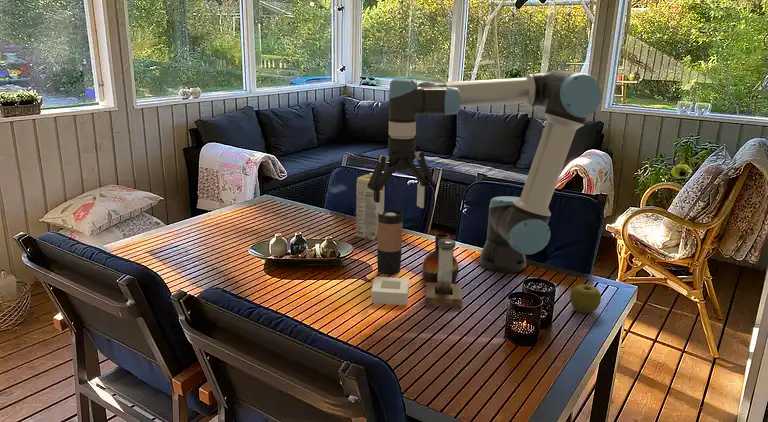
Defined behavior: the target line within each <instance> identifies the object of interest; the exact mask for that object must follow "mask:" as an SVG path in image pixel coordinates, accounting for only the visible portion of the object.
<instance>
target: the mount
mask: <svg viewBox="0 0 768 422" xmlns="http://www.w3.org/2000/svg"><path fill="white" fill-rule="evenodd" d="M425 282H426V281H425ZM436 293H437V283H432V282H426V283H425V301H424V302H425V303H424V305H425V306H427V307H439V308H441V307H442V308H443V307H444V308H458V309H462V308H463V293H462V284H461V283H453V284H451V295H445V294H436Z"/></svg>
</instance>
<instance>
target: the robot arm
mask: <svg viewBox="0 0 768 422" xmlns="http://www.w3.org/2000/svg"><path fill="white" fill-rule="evenodd" d="M602 95H603V94H602V88H601V86H600V84H599V82H598V80H597V79H596V78H595V77H594V76H592V75H590V74H587V73H584V72H582V71H581V72H580V71H569V70H562V69H561V70H560V69H559V70H551V71H546V72H539V73H528V74H526V75H525V76H523V77H518V78H517V77H516V78H513V77H511V78H499V79H498V78H497V79H495V78H493V79H478V80H477V79H475V80H459V81H443V82H430V81H424V82H420V83H418V81H417V80H416V79H413V78H395V79H392V80H391V81H390V83H389V91H388V143H387V145H388V146H387V147H388V148H387V149H388V150H387V151H388V154H387V155H382V154H378V155H377V163H376V165H375V167H374V169H373V172H372V173H373V174H372V176H371V178H370V181H369V183H368V185H367V188H369V189H371V190H373V191H374V202H376V212H377V213H379V214H383V191H381V189H382V188H383V186H384V187H385V185H386V184H387V182H388V180H389V179H390V178H391V176H392V175H393V174H394V173H395V172H396V171H402V170H408V169H409V172H411V173H412V175H413V176H414V178H416V180H417V181H418V182H419V183H417V186H416V187H417V190H416V207H419V208H421V209H424V208H425V196H427V191H428V190H427V189H428V187H429V186H430V183H431V184H432V183H433V182H434V179H433V176H432V174H431V172H430V170H429V168H428V164H427V162H426V159H425V152H422V151H420V150H417V151H416V152H415V150H416V138H415V136H416V135H417V129H416V128H417V115H418V116H421V115H430V116H432V115H433V116H434V115H436V116H438V115H439V116H440V115H442V116H450V115H457V114H458V113H459V111H460V109H461V108H462V107H481V106H483V107H484V106H498V105H499V106H501V105H502V106H503V105H515V104H517V105H518V104H519V105H520V104H524V105H525V106H526V107H542V108H545V109H544V112H543V115H544V117H545V119H546V123H545V126H544V128H543V131H542V134H541V137H540V139H539V143H538V146H537V149H536V152H535V155H534V157H533V159H532V163H531V166H530V169H529V171H528V175H527V177H526V180H525V182H524V186H523V187H522V188H523V189H522V191H521V195H520V197H519V196H507V195H506V196H505V195H504V196H495V197H492V198H491V199H490V201H489V202H490V203H489V206H488V217H487V218H488V220H487V230H486V231H487V233H486V241H485V244H484V246H483V248H482V250H481V252H480V255H479V264H480V266H482V267H483V268H484V269H487V270H489V271H493V272H496V271H497V273H504V274H505V273H506V274H508V273H509V274H511V273H510V272H514V273H518V271H519V272H521V270H522V271H523V269H524V268H525V269H526V266H527V257H526V255H534V254H536V253H538V252H540V251H542V250H543V249H545V247H546V246H548V244H549V241H550V240H551V239H550V238H551V230H550V227H549V225H548V223H549V221H550V218H551V215H552V212H551V211H550V209H549V207H550V206H549V205H550V203H551V200H552V197H553V195H554V192H555V189H556V187H557V184H558V181H559V178H560V175H561V173H562V170H563V169H564V165H565V161H566V160H567V156H568V153H569V151H570V148H571V145H572V142H573V140H574V138H575V134H576V132H577V130H578V129H580V128H582V127H584V126H585V123H586V121H587V120H588V119H587V118H588V117H589V116H591V115H592V114H593V113H595V112H596V111H597V110H598V108H599V107H600V105H601V101H602ZM415 160H417V164H418V167H419V168H420V171H421V172H420V171H419V169H418V168H417V166H416V165H415V162H414V161H415ZM386 164H387V165H386ZM385 167H386V168H385ZM384 169H385V170H384ZM525 269H524V270H525Z"/></svg>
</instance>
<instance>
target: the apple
mask: <svg viewBox="0 0 768 422" xmlns="http://www.w3.org/2000/svg"><path fill="white" fill-rule="evenodd" d="M601 295H602V294H601V293H600V290H599V289H598V288H597V287H595V286H593V285H590V284H578V285H576V286H575V287H573V288H572V290H571V292H570V295H569V296H570V297H569V299H570V304H571V306H572V308H573V310H575V311H577V312H579V313H581V314H591V313H593V312H595V311H596V310H597V309H598V307H600V304H601V301H602V296H601Z"/></svg>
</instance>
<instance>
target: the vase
mask: <svg viewBox="0 0 768 422" xmlns="http://www.w3.org/2000/svg"><path fill="white" fill-rule="evenodd" d="M434 238H435V239H434V240H435V241H434V242H435V244H434V250H432V251H431V252H428V254H427V255H426V256H425V257H424V259H423V261H422V265H421V271H422V272H421V273H422V277H423V279H424V281H425V282H432V283H437V276H438V258H439V247H438V240H440V239H450V235H449V234H447V233H445V232H444V233H443V232H441V233H440V232H439V233H435V235H434ZM459 269H460V268H459V262H458V260H457V258H456V256H455V255H453V266H452V282H451V284H455V282H456V280H457V279H458V275H459Z"/></svg>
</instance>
